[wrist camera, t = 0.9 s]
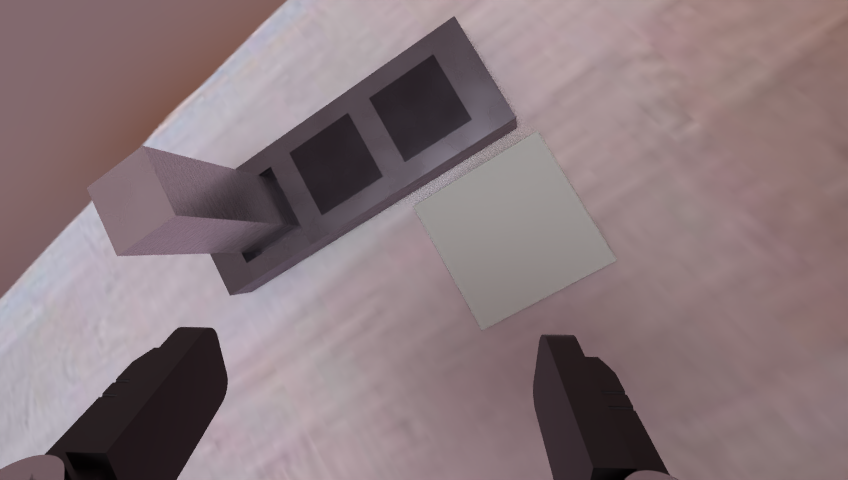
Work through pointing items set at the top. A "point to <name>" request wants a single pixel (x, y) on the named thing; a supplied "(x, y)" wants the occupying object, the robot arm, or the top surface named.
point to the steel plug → (189, 207)
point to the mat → (513, 232)
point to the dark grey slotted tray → (375, 148)
